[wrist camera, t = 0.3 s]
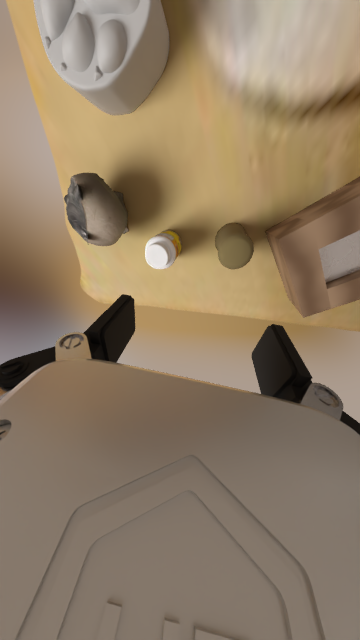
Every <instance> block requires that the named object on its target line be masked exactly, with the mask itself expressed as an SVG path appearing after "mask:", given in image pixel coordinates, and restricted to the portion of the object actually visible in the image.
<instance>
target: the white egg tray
mask: <svg viewBox="0 0 360 640" xmlns="http://www.w3.org/2000/svg"><path fill="white" fill-rule="evenodd" d="M34 7H35V13H36V18H37V23H38V27H39V31H40V35H41V39H42V42H43V46H44V49H45V51H46V54H47V56H48V58H49V60H50V62H51V64H52V66H53V67H54V69H55V70H56V72H57V73H58V74H59V76H60V77H61V78H62V79H63V80H64V81H65V82H66V83H67V84H69V85H70V86H71V87H72V88H74V89H75V90H76V91H77V92H79V93H80V94H81V95H82V96H84V97H85V98H86V99H87V100H89V101H90V102H91V103H92V104H94V105H95V106H96V107H97V108H99V109H100V110H101V111H103V112H105V113H107V114H110V115H124V114H129V113H132V112H133V111H135V110H136V109H137V108H138V107H139V106H140V105H141V103H142V102H143V101H144V100H145V99H146V98H147V96H148V95H149V94H150V92H151V91H152V89H153V88H154V86H155V85H156V83H157V82H158V80H159V78H160V77H161V75H162V73H163V71H164V69H165V66H166V63H167V59H168V53H169V31H168V27H167V23H166V19H165V15H164V12H163V8H162V4H161V0H34Z"/></svg>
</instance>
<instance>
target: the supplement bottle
mask: <svg viewBox="0 0 360 640" xmlns="http://www.w3.org/2000/svg"><path fill="white" fill-rule="evenodd" d="M181 248H182V243H181V239H180V237H179V236H178V234H176V233H175V232H173V231H170V230H166V231H163V232H161V233H159V234H158V235H156V236H154V237H152V238H151V239H150V240H149V241H148V242H147V244H146V247H145V258H146V261H147V263H148V264H149V265H150V266H151V267H153V268H155V269H166V268H168V267H170V266H171V265H172V264H173V263H174V261H175V259H176V258H177V256H178V255H179V253H180V251H181Z"/></svg>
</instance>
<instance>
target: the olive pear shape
mask: <svg viewBox="0 0 360 640" xmlns="http://www.w3.org/2000/svg"><path fill="white" fill-rule="evenodd" d="M215 245H216V248H217V250H218V257H219V260H220V262H221V264H222V265H223V266H225V267H227V268H229V269H238V268H241V267H243V266H245V265H246V264H247V263H248V262H249V261H250V259H251V258H252V255H253V251H254V247H253V243H252V240H251V239H250V238H249V237H248V236H247V235H246V232H245V229H244V228H243V227H242V226H241V225H239V224H237V223H229V224H226V225H224V226H223V227H222V228H221V229H220V230H219V231H218V233H217V235H216V238H215Z"/></svg>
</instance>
